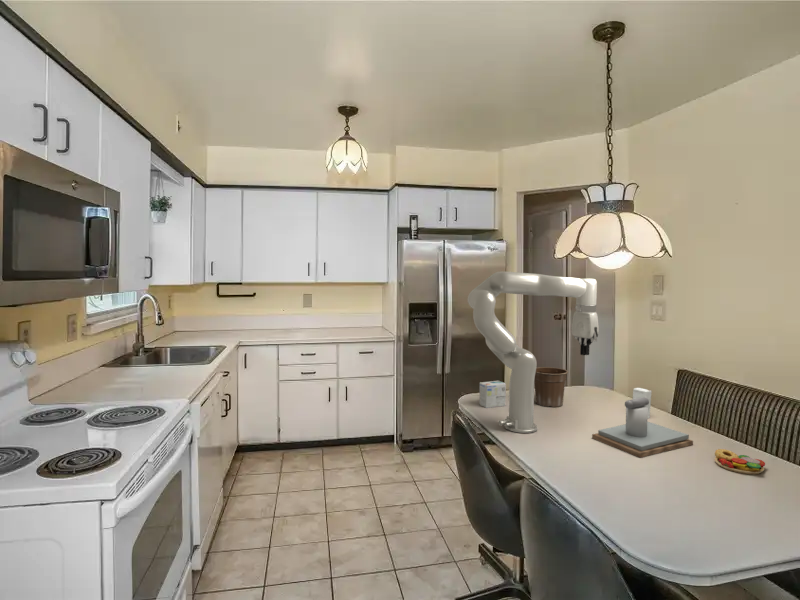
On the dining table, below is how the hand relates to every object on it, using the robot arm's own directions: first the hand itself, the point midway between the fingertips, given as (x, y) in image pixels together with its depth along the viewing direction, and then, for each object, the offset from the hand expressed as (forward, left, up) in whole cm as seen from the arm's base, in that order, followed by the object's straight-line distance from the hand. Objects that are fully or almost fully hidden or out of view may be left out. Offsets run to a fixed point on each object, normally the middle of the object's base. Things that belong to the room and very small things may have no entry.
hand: (584, 354), depth 184 cm
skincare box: (+32, -2, -29) cm, 43 cm away
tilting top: (+7, -22, -27) cm, 36 cm away
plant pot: (+10, +30, -29) cm, 43 cm away
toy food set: (+15, -50, -30) cm, 60 cm away
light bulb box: (-16, +39, -29) cm, 51 cm away
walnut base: (+6, -22, -29) cm, 37 cm away
